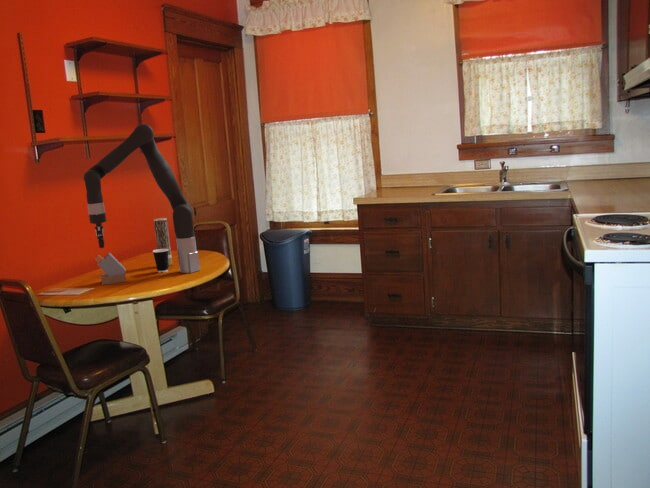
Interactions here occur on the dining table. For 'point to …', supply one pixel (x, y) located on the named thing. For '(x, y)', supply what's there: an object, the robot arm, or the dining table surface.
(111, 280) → the socket
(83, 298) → the dining table surface
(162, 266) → the dixie cup
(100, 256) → the dowel
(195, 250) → the robot arm
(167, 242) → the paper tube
